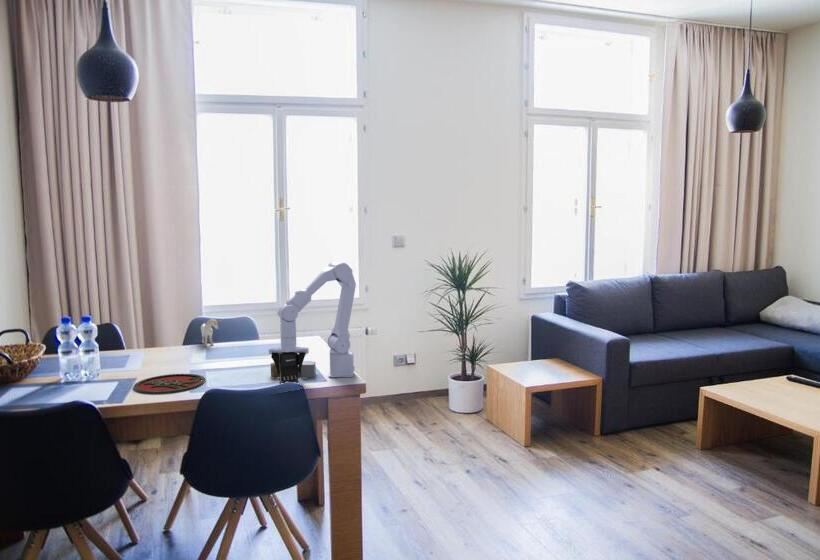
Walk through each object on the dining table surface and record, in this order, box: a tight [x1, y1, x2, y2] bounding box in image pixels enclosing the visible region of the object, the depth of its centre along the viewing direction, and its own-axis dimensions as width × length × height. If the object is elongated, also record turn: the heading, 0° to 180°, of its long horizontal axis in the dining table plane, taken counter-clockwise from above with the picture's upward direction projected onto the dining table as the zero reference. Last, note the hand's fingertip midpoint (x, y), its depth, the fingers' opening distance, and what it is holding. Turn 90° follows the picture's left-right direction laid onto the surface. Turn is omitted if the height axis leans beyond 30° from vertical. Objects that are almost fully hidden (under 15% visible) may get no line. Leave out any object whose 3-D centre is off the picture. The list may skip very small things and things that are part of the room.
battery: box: [279, 352, 299, 383], centre depth 232 cm, size 7×4×11 cm, turn 116°
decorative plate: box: [133, 373, 207, 395], centre depth 230 cm, size 25×1×25 cm
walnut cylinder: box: [270, 362, 280, 379], centre depth 240 cm, size 5×5×5 cm
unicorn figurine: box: [200, 318, 226, 347], centre depth 298 cm, size 7×20×13 cm, turn 46°
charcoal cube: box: [300, 361, 317, 378], centre depth 240 cm, size 5×5×5 cm
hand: (289, 372), depth 232 cm, fingers open, 7 cm apart
